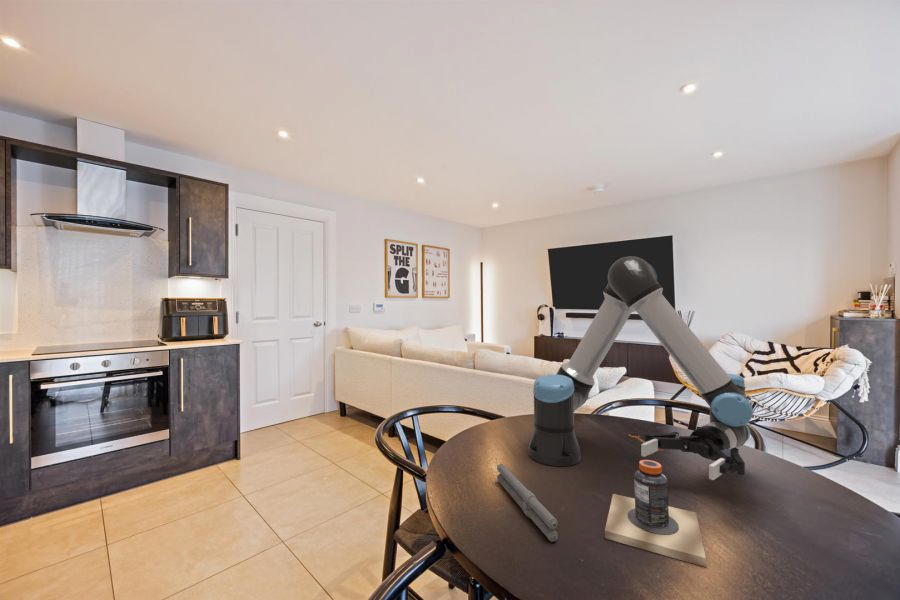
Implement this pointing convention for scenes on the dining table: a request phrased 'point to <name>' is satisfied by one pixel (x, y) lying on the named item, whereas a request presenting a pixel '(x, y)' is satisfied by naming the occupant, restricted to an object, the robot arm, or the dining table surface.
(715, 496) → the dining table surface
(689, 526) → the stand
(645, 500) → the pill bottle
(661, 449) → the key
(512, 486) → the metal rod assembly
